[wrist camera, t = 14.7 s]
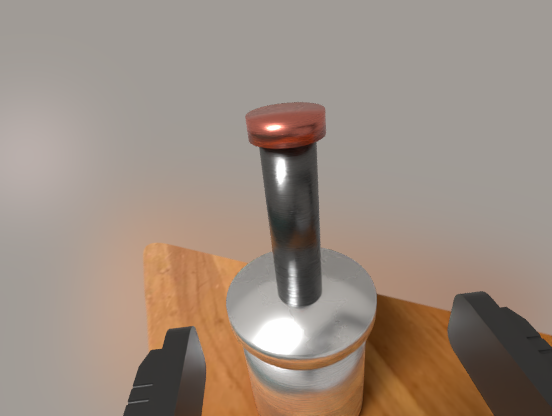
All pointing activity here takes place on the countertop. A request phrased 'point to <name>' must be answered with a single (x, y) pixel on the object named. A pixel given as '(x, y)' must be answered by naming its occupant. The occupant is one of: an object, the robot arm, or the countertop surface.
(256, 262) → the lid
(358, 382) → the pot
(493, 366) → the robot arm
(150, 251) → the countertop surface
